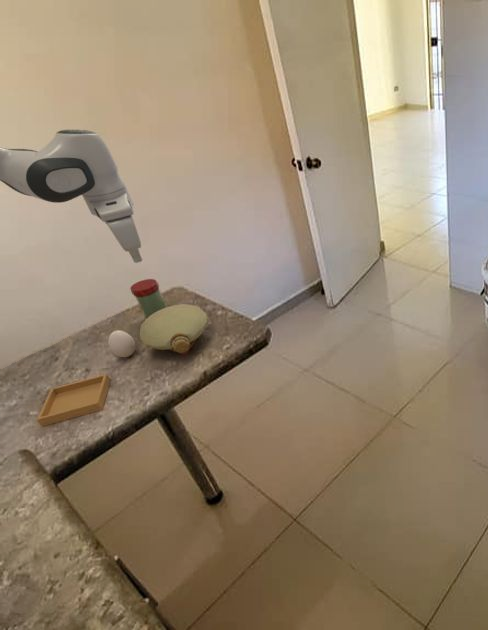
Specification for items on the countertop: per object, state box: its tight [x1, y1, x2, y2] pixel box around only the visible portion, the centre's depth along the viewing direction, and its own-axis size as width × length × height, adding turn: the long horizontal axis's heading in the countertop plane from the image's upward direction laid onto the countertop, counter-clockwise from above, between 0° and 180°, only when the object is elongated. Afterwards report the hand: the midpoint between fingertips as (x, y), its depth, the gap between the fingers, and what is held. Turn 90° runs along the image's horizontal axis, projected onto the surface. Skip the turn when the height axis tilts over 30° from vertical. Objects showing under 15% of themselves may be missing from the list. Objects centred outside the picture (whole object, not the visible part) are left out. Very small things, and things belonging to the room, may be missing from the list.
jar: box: [134, 288, 169, 320], centre depth 120 cm, size 6×6×10 cm
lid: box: [129, 278, 160, 298], centre depth 117 cm, size 6×6×2 cm
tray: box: [36, 373, 112, 428], centre depth 96 cm, size 11×10×2 cm
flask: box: [139, 303, 208, 355], centre depth 109 cm, size 9×16×18 cm
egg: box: [107, 330, 136, 358], centre depth 107 cm, size 5×5×7 cm
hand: (134, 255), depth 110 cm, fingers open, 8 cm apart
